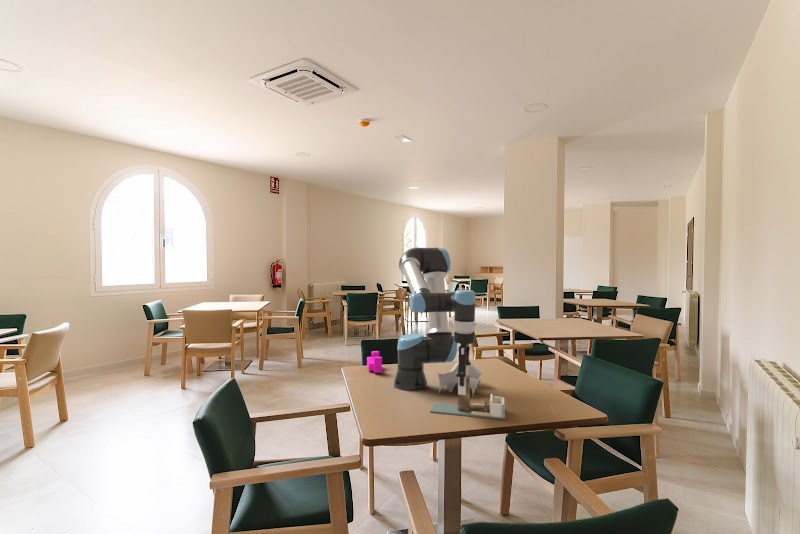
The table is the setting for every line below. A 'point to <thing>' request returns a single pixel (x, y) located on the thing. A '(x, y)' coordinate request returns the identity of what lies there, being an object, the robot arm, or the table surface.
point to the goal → (496, 406)
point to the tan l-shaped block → (465, 400)
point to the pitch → (453, 410)
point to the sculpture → (452, 380)
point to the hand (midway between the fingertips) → (463, 388)
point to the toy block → (375, 362)
